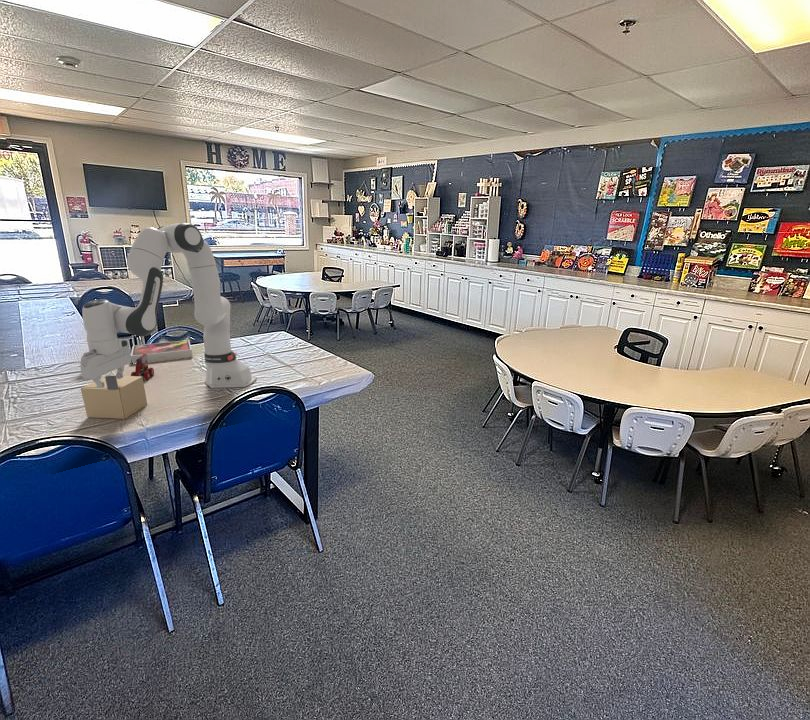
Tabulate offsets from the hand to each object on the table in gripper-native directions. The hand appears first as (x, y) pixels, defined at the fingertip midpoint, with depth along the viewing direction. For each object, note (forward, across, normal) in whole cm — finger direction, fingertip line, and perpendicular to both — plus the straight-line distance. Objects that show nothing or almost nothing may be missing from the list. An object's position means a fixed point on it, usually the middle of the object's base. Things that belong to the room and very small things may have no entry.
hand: (110, 382), depth 153 cm
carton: (+14, +7, +4) cm, 17 cm away
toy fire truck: (+15, +43, +19) cm, 49 cm away
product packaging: (+15, +78, +31) cm, 85 cm away
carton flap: (+14, 0, +4) cm, 15 cm away
